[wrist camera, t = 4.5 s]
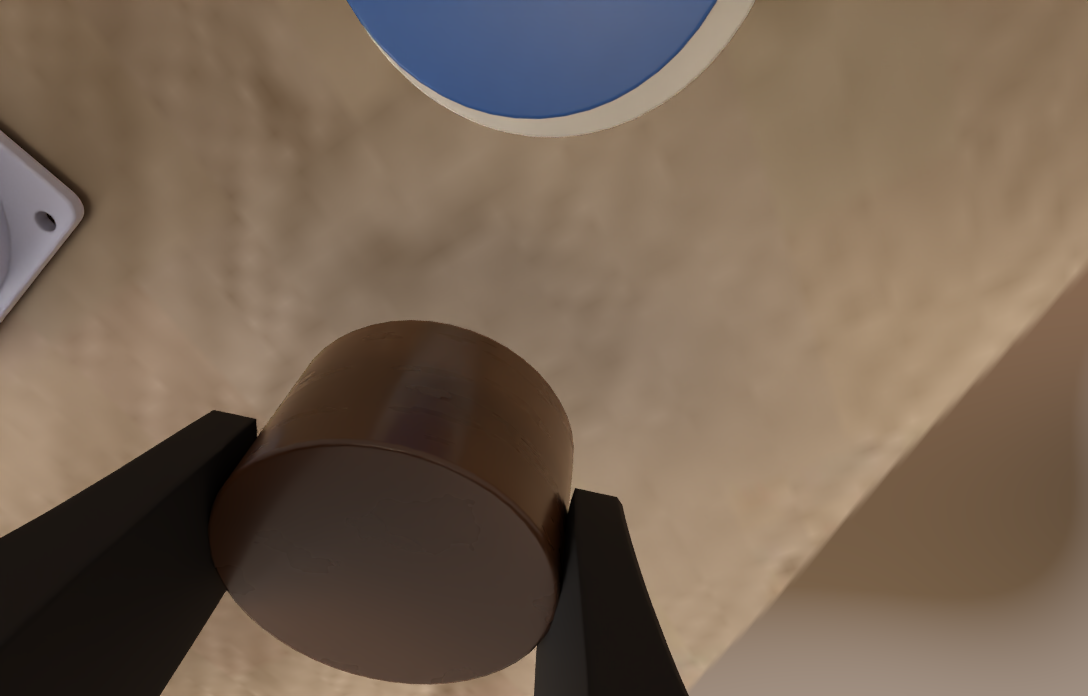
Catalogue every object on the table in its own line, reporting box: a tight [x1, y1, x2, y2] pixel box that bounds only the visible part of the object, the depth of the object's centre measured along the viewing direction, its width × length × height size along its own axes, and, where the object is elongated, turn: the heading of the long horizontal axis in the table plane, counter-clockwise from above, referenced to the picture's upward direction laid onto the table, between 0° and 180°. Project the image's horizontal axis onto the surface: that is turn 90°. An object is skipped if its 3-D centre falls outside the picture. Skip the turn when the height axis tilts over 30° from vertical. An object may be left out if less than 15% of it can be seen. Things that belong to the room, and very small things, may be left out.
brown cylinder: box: [208, 320, 574, 684], centre depth 10 cm, size 5×5×3 cm
